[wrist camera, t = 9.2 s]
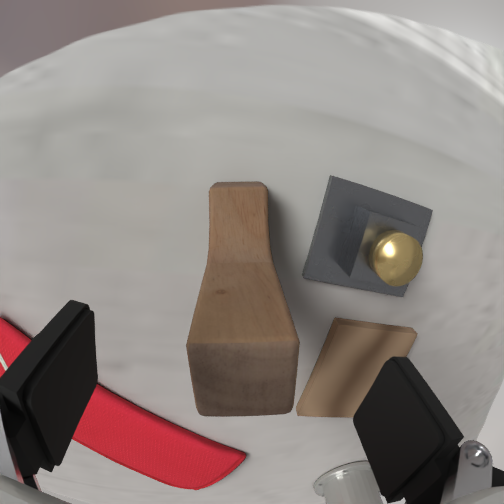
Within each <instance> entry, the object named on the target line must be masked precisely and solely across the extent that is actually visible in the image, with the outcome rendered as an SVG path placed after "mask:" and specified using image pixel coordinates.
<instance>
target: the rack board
mask: <svg viewBox="0 0 504 504" xmlns="http://www.w3.org/2000/svg"><path fill="white" fill-rule="evenodd" d="M416 336H417V333H416V332H415V331H414V329H413V328H409V327H401V326H393V325H385V324H377V323H370V322H363V321H356V320H349V319H342V318H336V317H335V318H334V320H333V323H332V325H331V328H330V330H329V333H328V335H327V338H326V340H325V343H324V345H323V348H322V350H321V353H320V355H319V357H318V360H317V362H316V364H315V367H314V369H313V371H312V374H311V376H310V378H309V380H308V383H307V385H306V387H305V389H304V391H303V393H302V396H301V398H300V400H299V402H298V404H297V406H296V411H297V415H298V416H312V417H354V414H355V412H356V411H357V409H358V408H359V406H360V404H361V403H362V401H363V400H364V398H365V396H366V395H367V393H368V391H369V389H370V388H371V386H372V384H373V382H374V381H375V379H376V377H377V375H378V374H379V372H380V370H381V368H382V366H383V364H384V363H385V362H386V361H387V360H389V358H391V357H393V356H397V357H406V356H407V354H408V352H409V350H410V348H411V346H412V344H413V342H414V340H415V338H416Z"/></svg>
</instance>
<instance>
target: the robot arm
mask: <svg viewBox="0 0 504 504" xmlns="http://www.w3.org/2000/svg"><path fill="white" fill-rule="evenodd" d="M97 381H98V374H97V362H96V346H95V321H94V312H93V311H91V310H90V308H89V305H88V304H84V303H81V302H77V301H74V300H70V301H69V302H68V303H67V304H66V305H65V306H64V307H63V308H62V309H61V310H60V311H59V312H58V313H57V314H56V316H55V317H54V318H53V319H52V320H51V321H50V322H49V323H48V324H47V325H46V326H45V328H44V329H43V330H42V331H41V332H40V333H39V334H37V335H36V336H35V337H34V338H33V339H32V340H31V342H30V343H29V344H28V345H27V346H26V347H25V348H24V350H23V351H22V352H21V353H20V354H19V355H18V357H17V358H16V359H15V360H14V361H13V363H12V364H11V365H10V366H9V368H8V369H7V370H6V371H5V372H4V374H3V375H2V376H1V377H0V504H70V503H68V502H65V501H63V500H60V499H58V498H55V497H53V496H51V495H49V494H46V493H44V492H42V491H41V488H40V486H39V484H38V481H37V478H36V476H35V474H37V472H38V470H39V468H40V467H41V468H43V469H45V470H47V471H49V472H52V471H53V468H54V466H55V465H56V466H59V465H60V464H61V463H62V460H63V458H64V456H65V453H66V451H67V449H68V446H69V444H70V442H71V439H72V437H73V435H74V433H75V430H76V428H77V426H78V424H79V422H80V419H81V417H82V415H83V413H84V411H85V409H86V407H87V404H88V402H89V400H90V398H91V396H92V394H93V392H94V390H95V388H96V385H97ZM353 423H354V426H355V428H356V431H357V433H358V436H359V438H360V441H361V443H362V446H363V448H364V451H365V453H366V456H367V459H368V461H362V462H355V463H350V464H346V465H343V466H340V467H338V468H335V469H333V470H331V471H329V472H327V473H326V474H324V475H322V476H321V477H320V478H319V479H318V480H317V481H316V482H315V484H314V491H315V493H316V494H318V495H320V496H324V497H325V501H326V504H383V502H382V500H381V497H380V494H379V492H381V494H382V495H383V496H384V497H385V498H386V501H387V503H392V502H396V501H400V500H401V499H403V497H404V498H405V500H406V502H405V504H504V471H502V470H500V469H497V468H495V467H493V466H492V456H491V454H490V452H489V450H488V449H487V448H486V447H485V446H484V445H483V444H481V443H479V442H477V441H474V440H468V441H466V442H464V443H463V444H462V445H461V447H460V448H459V446H458V443H459V442H460V441H461V440H462V439H463V437H464V436H463V435H462V433H461V432H460V430H459V429H458V427H457V426H456V424H455V423H454V421H453V420H452V418H451V417H450V415H449V414H448V412H447V411H446V410H445V408H444V407H443V405H442V404H441V402H440V401H439V400H438V398H437V397H436V395H435V394H434V392H433V391H432V390H431V388H430V387H429V386H428V384H427V383H426V381H425V380H424V379H423V377H422V376H421V375H420V373H419V372H418V370H417V369H416V368H415V366H414V365H413V364H412V362H411V361H410V360H409V359H408V358H407V357H397V356H393V357H391V358H389V360H387V361H386V362H385V363H384V364H383V366H382V368H381V370H380V372H379V374H378V375H377V377H376V379H375V381H374V382H373V384H372V386H371V388H370V389H369V391H368V393H367V395H366V396H365V398H364V400H363V401H362V403H361V404H360V406H359V408H358V409H357V411H356V412H355V414H354V417H353Z"/></svg>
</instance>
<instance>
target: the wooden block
mask: <svg viewBox="0 0 504 504" xmlns="http://www.w3.org/2000/svg"><path fill="white" fill-rule="evenodd" d="M209 219H210V228H209V251H208V259H207V265H206V269H205V273H204V277H203V280H202V284H201V288H200V292H199V296H198V300H197V304H196V308H195V311H194V315H193V319H192V323H191V328H190V332H189V336H188V340H187V344H186V347H187V354H188V361H189V367H190V373H191V380H192V386H193V392H194V397H195V403H196V408H197V410H198V412H199V414H200V415H203V416H260V415H277V414H286V413H289V412H291V410H292V408H293V405H294V396H295V386H296V377H297V366H298V355H299V344H300V342H299V339H298V335H297V332H296V329H295V326H294V323H293V320H292V317H291V314H290V311H289V308H288V305H287V302H286V299H285V296H284V293H283V290H282V287H281V284H280V281H279V279H278V276H277V273H276V270H275V267H274V264H273V259H272V254H271V249H270V237H269V225H268V190H267V187H266V186H265V185H264V184H263V183H261V182H217V183H215V184H213V186H212V187H211V188H210V190H209Z"/></svg>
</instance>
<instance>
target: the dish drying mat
mask: <svg viewBox="0 0 504 504" xmlns="http://www.w3.org/2000/svg"><path fill="white" fill-rule="evenodd" d="M30 342H31V339H29V338H28V337H27V336H25V335H24V334H23V333H21V332H20V331H19V330H17V329H16V328H15V327H13V326H12V325H11V324H9V323H8V322H6V321H5V320H4V319H2V318H1V317H0V377H1V376H2V375H3V374H4V372H5V371H6V370H7V369H8V368H9V366H10V365H11V364H12V363H13V361H14V360H15V359H16V358H17V357H18V355H19V354H20V353H21V352H22V351H23V350H24V348H25V347H26V346H27V345H28V344H29V343H30ZM72 439H73V440H75V441H77V442H78V443H80V444H82V445H84V446H86V447H88V448H90V449H91V450H93V451H95V452H97V453H99V454H101V455H103V456H104V457H106V458H108V459H110V460H112V461H114V462H116V463H118V464H121V465H123V466H125V467H127V468H129V469H132V470H134V471H136V472H138V473H141V474H143V475H146V476H148V477H150V478H152V479H155V480H157V481H159V482H162V483H164V484H167V485H170V486H174V487H178V488H184V489H194V490H199V489H201V488H205V487H208V486H210V485H213V484H214V483H216V482H218V481H220V480H221V479H223V478H224V477H226V476H227V475H228V474H229V473H231V472H232V471H233V470H234V469H236V468H237V467H238V466H239V465H240V464H241V463H242V462H243V461H244V459H245V458H246V454H245V453H244V452H241V451H238V450H236V449H233V448H230V447H227V446H225V445H222V444H220V443H217V442H214V441H212V440H209V439H207V438H205V437H202V436H200V435H197V434H195V433H193V432H191V431H188V430H186V429H184V428H181V427H179V426H177V425H175V424H173V423H170V422H168V421H166V420H164V419H162V418H160V417H158V416H155V415H153V414H151V413H149V412H147V411H146V410H143V409H141V408H140V407H138V406H136V405H134V404H132V403H130V402H128V401H126V400H125V399H123V398H121V397H119V396H117V395H115V394H113V393H112V392H110V391H108V390H106V389H105V388H103V387H101V386H100V385H98V384H97V385H96V388H95V390H94V392H93V394H92V396H91V398H90V400H89V402H88V404H87V407H86V409H85V411H84V413H83V415H82V417H81V419H80V422H79V424H78V426H77V428H76V430H75V433H74V435H73V437H72Z"/></svg>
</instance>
